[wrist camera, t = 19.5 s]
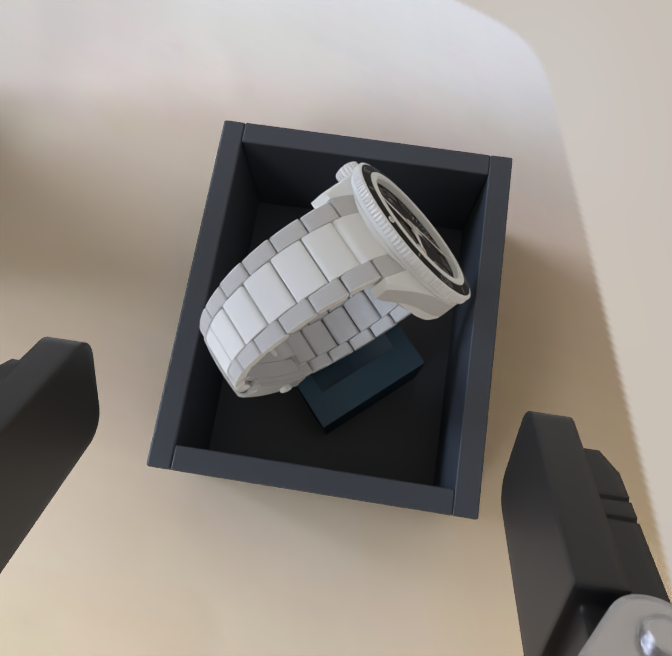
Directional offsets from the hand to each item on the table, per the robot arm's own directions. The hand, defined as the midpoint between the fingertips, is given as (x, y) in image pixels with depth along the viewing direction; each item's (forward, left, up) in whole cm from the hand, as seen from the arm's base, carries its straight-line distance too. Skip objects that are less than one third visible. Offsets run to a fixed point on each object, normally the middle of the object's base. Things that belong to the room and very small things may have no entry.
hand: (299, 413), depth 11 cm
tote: (0, +5, -14) cm, 15 cm away
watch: (0, +4, -14) cm, 14 cm away
